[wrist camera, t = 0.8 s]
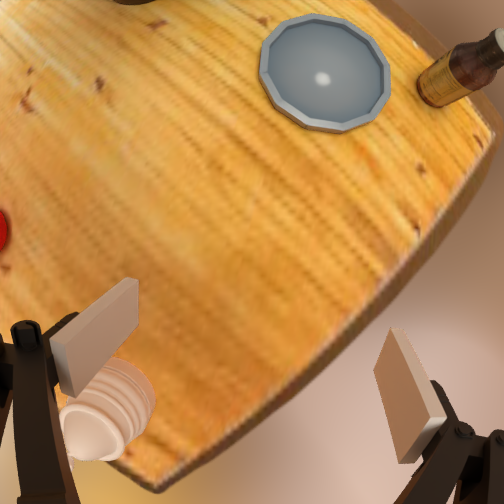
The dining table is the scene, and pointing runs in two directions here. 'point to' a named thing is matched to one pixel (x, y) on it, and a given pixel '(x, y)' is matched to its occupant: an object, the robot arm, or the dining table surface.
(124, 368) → the honey pot
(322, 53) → the serving plate
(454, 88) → the sauce bottle
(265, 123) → the dining table surface
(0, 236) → the tomato
